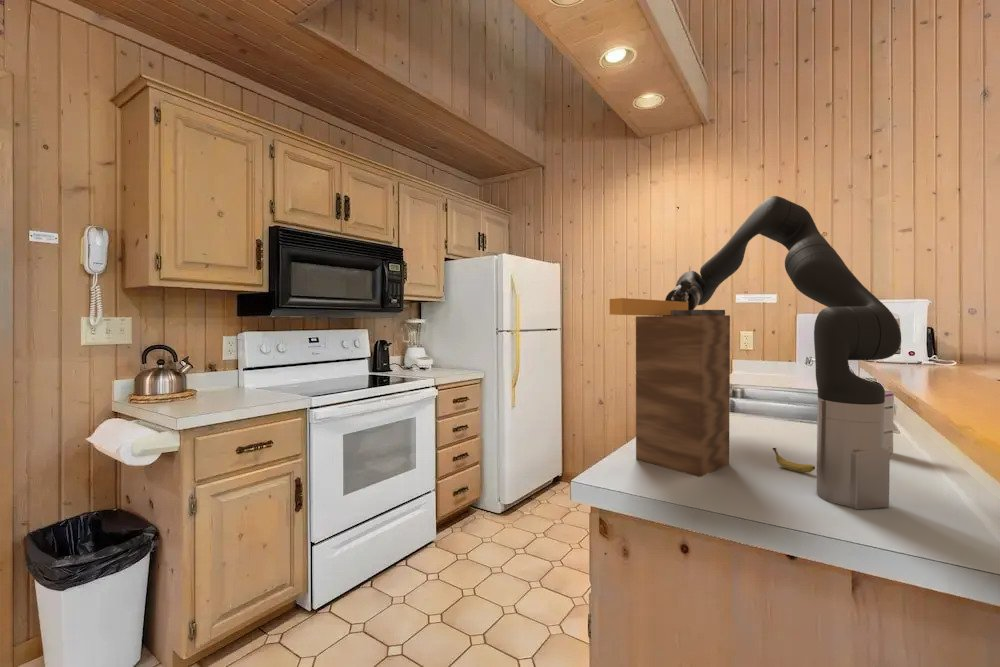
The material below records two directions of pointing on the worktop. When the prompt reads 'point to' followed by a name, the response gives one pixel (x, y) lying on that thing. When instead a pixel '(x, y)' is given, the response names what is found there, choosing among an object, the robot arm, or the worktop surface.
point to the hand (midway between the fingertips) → (669, 313)
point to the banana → (793, 464)
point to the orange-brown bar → (645, 307)
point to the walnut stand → (683, 390)
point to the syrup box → (888, 420)
